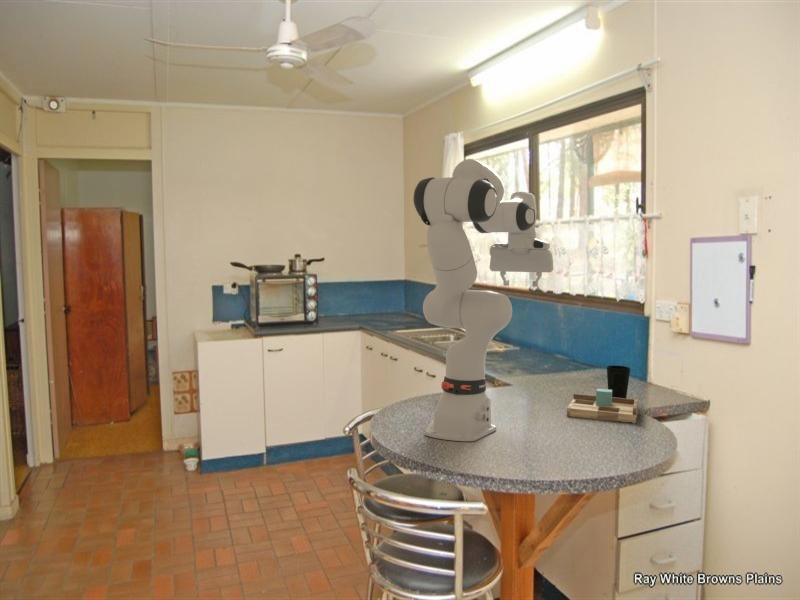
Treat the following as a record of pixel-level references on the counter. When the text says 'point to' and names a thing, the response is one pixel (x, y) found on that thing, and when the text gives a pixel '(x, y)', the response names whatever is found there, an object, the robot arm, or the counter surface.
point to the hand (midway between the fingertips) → (520, 286)
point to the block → (604, 397)
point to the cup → (618, 380)
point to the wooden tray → (603, 408)
